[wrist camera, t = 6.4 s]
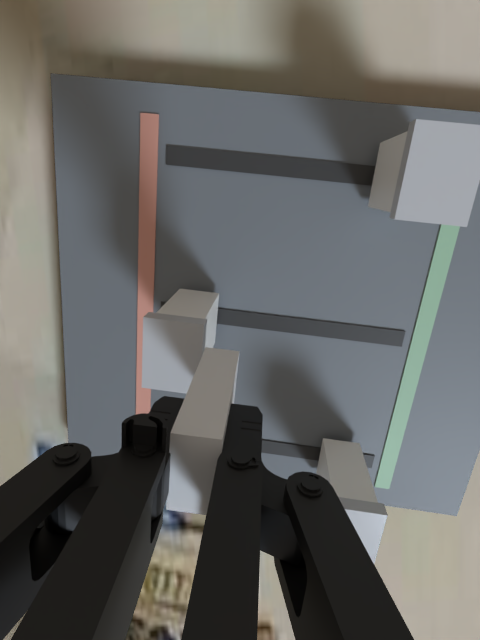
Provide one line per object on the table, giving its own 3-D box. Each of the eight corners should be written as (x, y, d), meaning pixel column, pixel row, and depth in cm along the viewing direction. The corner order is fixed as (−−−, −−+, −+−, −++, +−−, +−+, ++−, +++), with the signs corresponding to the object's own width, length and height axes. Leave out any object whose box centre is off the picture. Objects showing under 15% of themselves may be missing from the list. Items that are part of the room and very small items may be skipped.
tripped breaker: (174, 340, 25) (141, 387, 19) (176, 284, 24) (143, 317, 18) (217, 345, 25) (198, 395, 19) (222, 290, 24) (203, 324, 18)
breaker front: (363, 210, 22) (394, 219, 16) (377, 138, 21) (416, 119, 15) (415, 215, 22) (467, 227, 16) (432, 143, 21) (494, 126, 15)
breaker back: (311, 479, 28) (320, 559, 22) (320, 435, 27) (332, 507, 21) (352, 485, 28) (372, 568, 22) (363, 441, 26) (387, 515, 20)
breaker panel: (81, 442, 32) (68, 460, 30) (69, 82, 24) (49, 72, 22) (445, 495, 30) (457, 517, 28) (566, 127, 22) (594, 122, 20)
